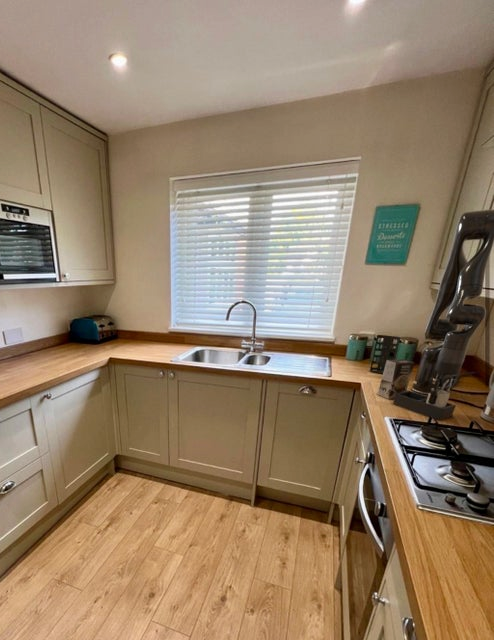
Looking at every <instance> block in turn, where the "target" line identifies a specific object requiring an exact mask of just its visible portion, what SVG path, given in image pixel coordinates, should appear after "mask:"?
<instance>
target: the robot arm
mask: <svg viewBox="0 0 494 640" xmlns="http://www.w3.org/2000/svg"><path fill="white" fill-rule="evenodd" d="M466 241H467V242H468V241H481V244H480V246H479V248H478V249H477V251H476V252H475V254H474V255H473V256H471V258H470V259H469V260H468V259H467V257H466V255H465V250H464V243H465V242H466ZM493 247H494V209H482V210H472V211H466V212H463V213H462V214H461V215H460V216H459V218H458V220H457V224H456V227H455V231H454V234H453V239H452V243H451V247H450V251H449V256H448V259H447V262H446V265H445V268H444V271H443V274H442V277H441V279H440V284H439V287H438V291H437V294H436V298H435V301H434V305H433V307H432V311H431V314H430V316H429V319H428V321H427V324H426V326H425V331H424V337H425V338H426V339H428V340H432V341H442V343H439V344H437V345H432V346H426V347H424V348H423V351H422V353H421V357H420V361H419V364H418V368H417V370H416V373H415V378H414V380H413V384H412V387H411V391H412V392H415V393H418V394H421V395H425V396H428V395H429V393H430V398H429V401H428V403H430V404H435V403H436V400H437V397H438V394H439V393H440V391H441V390H444V391H447V392H449V393H450V392H451V391H453V389H454V386H456V385H457V384H458V382H459V377H462V376H463V377H465V376H469V375H473V374H474V376H478V373H477V372H476V371H470V372H467V373H461V370H462V368H463V364H464V362H465V358H466V356H467V351H468V348H469V344H470V342H471V338H472V337H473V336H474V334H475V332H476V331H477V329H478V328H479V327H480V326H481V324H482V323H483V322H484V320H485V318H486V316H487V309H486V307H485V306H484V305H483V304H477V303H476V304H474V303H473V304H472V303H465V301H466V300H467V301H468V300H473V299H476V298H479V297H481V295H482V293H483V288H484V282H485V276H486V275H485V274H486V269H487V265H488V262H489V259H490V256H491V253H492V250H493ZM445 311H447V312H446V315H445V318H441V316H442V315H443V314H444V312H445ZM459 325H460V326H463V327H462V328H460V329H459ZM437 389H438V390H437Z"/></svg>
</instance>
